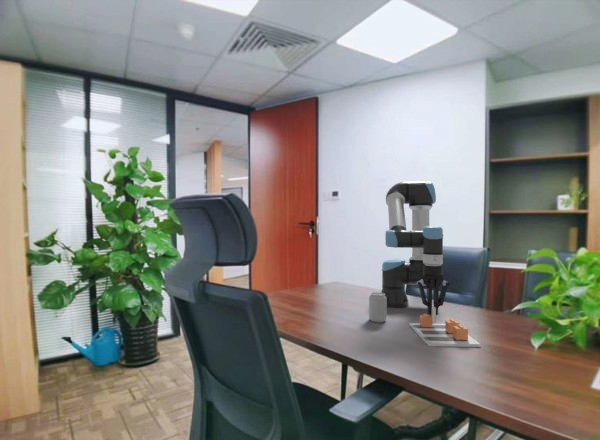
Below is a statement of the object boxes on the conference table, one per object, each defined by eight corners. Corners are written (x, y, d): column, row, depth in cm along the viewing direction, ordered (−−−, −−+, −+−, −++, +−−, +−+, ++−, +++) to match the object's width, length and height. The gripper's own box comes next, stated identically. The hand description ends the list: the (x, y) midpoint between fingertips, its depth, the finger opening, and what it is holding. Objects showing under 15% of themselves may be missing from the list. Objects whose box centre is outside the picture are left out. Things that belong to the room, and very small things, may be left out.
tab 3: (452, 336, 124) (452, 324, 124) (463, 337, 123) (463, 324, 123) (456, 339, 120) (456, 327, 120) (467, 340, 120) (467, 327, 120)
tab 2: (445, 330, 131) (445, 318, 131) (455, 330, 130) (455, 318, 130) (448, 333, 127) (448, 321, 127) (459, 333, 127) (459, 321, 127)
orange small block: (419, 324, 138) (419, 313, 138) (429, 324, 138) (429, 313, 138) (422, 327, 135) (422, 315, 135) (432, 327, 135) (432, 315, 135)
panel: (409, 325, 141) (409, 322, 141) (453, 326, 140) (453, 323, 140) (428, 346, 118) (428, 342, 118) (480, 346, 117) (480, 343, 117)
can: (367, 321, 146) (367, 294, 146) (371, 317, 153) (371, 290, 153) (384, 324, 143) (384, 296, 143) (388, 319, 149) (388, 292, 149)
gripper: (419, 265, 133) (419, 325, 133) (452, 266, 132) (452, 325, 132) (413, 263, 140) (413, 319, 140) (445, 263, 140) (445, 320, 140)
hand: (432, 322), depth 136 cm, fingers closed
